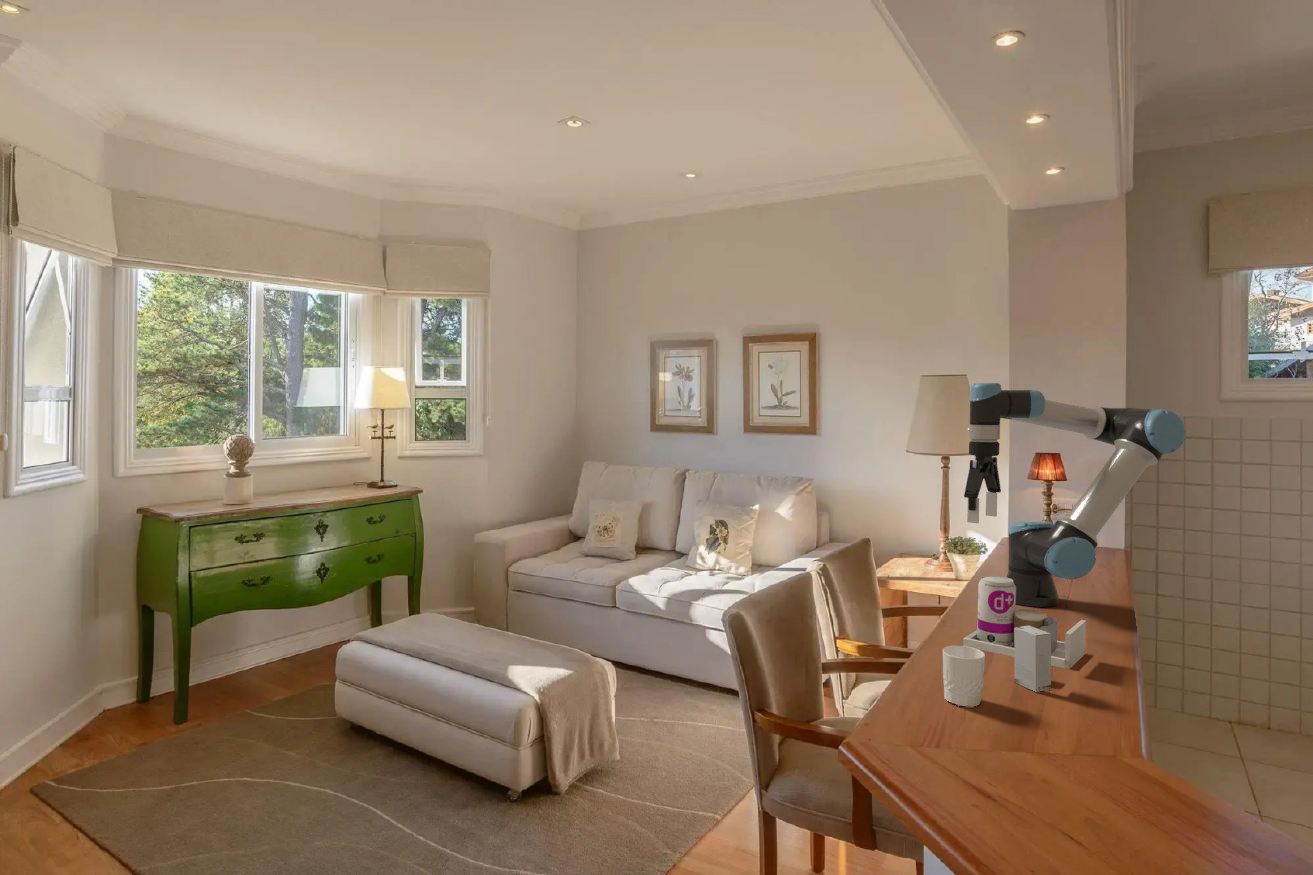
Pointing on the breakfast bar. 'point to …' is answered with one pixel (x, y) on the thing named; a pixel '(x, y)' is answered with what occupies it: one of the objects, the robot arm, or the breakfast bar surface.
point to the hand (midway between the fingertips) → (982, 519)
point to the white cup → (963, 675)
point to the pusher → (1051, 631)
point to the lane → (1060, 657)
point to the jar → (1028, 619)
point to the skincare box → (1032, 658)
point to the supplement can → (996, 610)
